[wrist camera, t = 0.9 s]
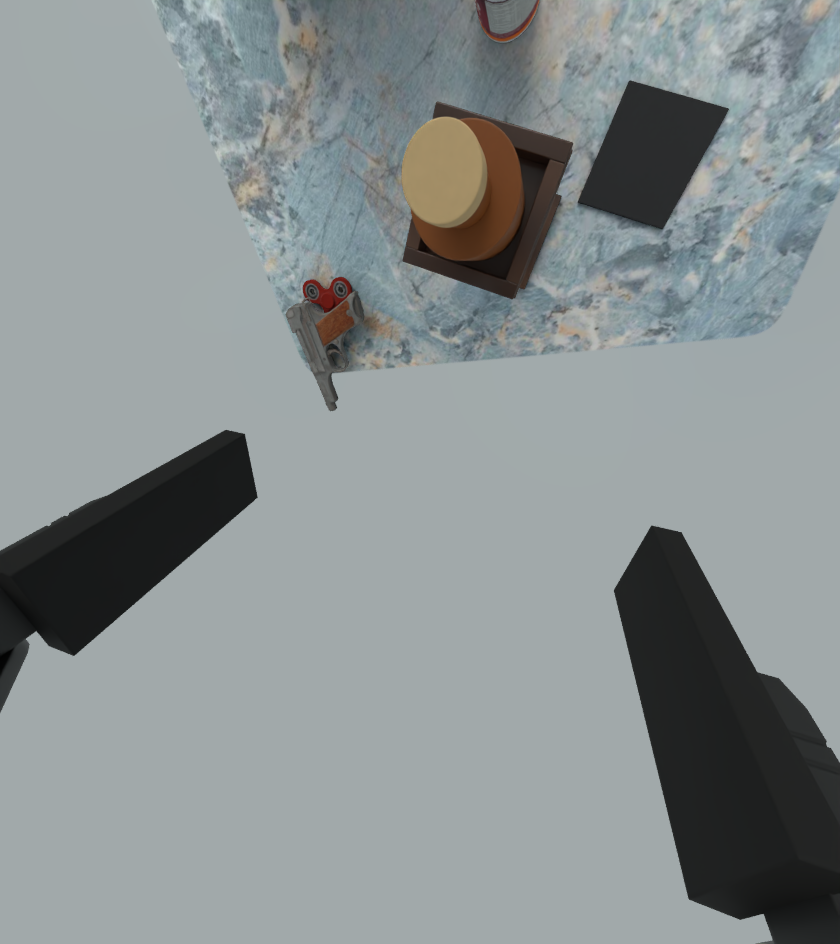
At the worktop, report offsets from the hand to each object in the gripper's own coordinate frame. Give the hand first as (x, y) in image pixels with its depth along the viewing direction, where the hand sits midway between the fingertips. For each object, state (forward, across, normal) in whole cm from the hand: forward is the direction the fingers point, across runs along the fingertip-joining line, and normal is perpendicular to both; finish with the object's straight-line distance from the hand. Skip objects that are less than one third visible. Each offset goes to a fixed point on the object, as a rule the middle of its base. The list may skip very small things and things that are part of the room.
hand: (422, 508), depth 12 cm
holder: (+45, -2, +10) cm, 46 cm away
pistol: (+44, -19, -7) cm, 49 cm away
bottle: (+22, -3, +10) cm, 25 cm away
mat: (+45, +11, +17) cm, 50 cm away
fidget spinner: (+46, -28, 0) cm, 53 cm away
